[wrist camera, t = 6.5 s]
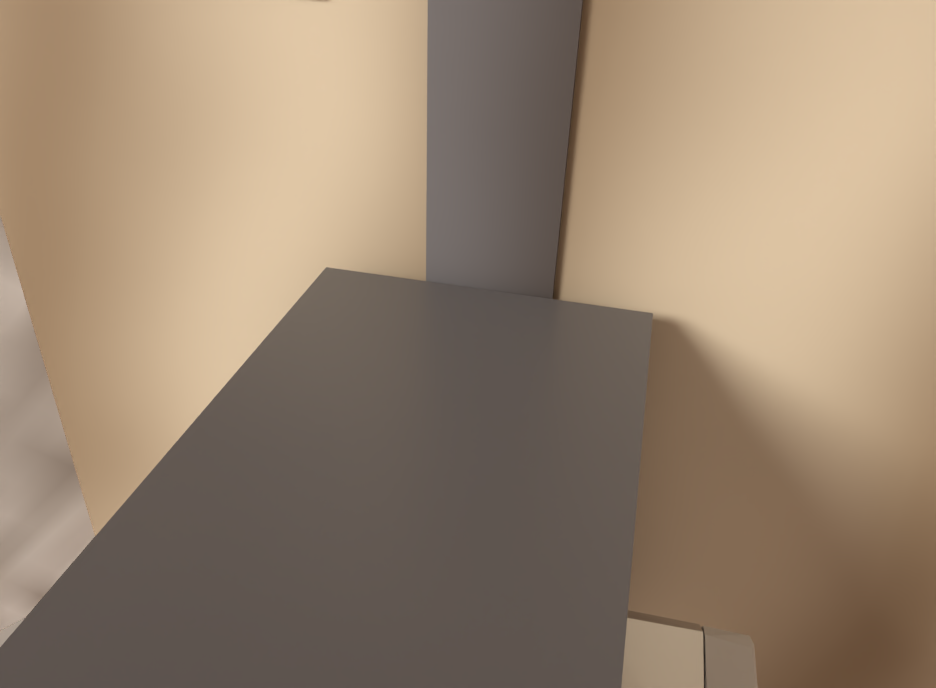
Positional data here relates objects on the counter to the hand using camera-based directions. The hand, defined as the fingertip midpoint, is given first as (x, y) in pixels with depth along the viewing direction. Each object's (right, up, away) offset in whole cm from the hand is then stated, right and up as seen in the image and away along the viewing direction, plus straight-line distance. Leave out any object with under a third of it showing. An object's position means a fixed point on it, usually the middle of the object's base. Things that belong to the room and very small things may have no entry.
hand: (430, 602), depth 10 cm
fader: (+1, +1, +2) cm, 2 cm away
